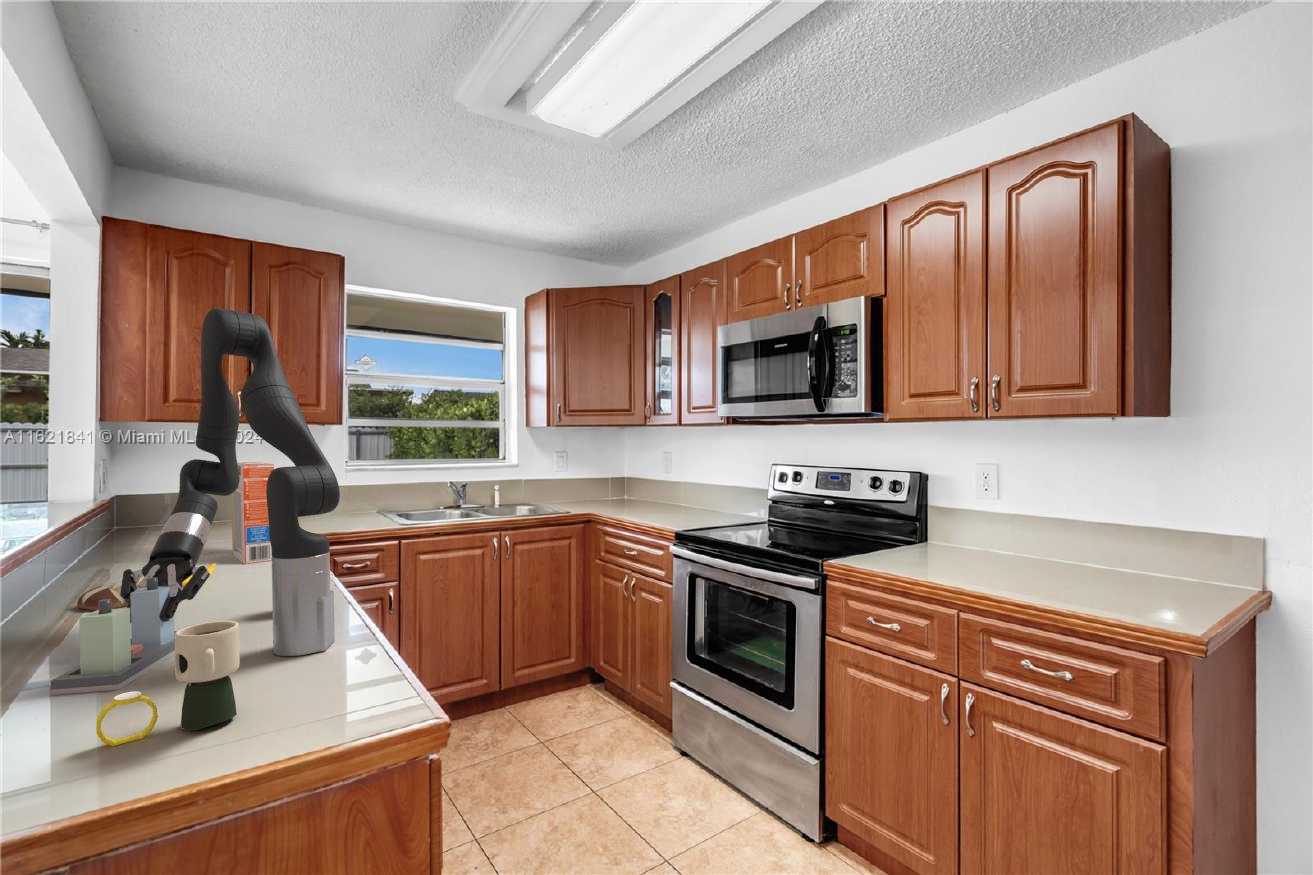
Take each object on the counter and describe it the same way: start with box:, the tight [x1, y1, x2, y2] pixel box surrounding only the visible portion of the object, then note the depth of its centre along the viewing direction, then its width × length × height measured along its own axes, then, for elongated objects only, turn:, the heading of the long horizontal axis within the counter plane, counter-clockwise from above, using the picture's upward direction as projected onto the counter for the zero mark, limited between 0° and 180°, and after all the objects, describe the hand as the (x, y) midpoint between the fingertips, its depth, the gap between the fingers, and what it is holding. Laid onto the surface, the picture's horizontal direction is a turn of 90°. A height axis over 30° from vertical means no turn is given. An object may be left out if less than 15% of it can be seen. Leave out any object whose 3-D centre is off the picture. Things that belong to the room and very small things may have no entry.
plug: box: [130, 577, 175, 646], centre depth 115 cm, size 4×4×12 cm
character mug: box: [174, 620, 241, 731], centre depth 86 cm, size 11×7×13 cm, turn 37°
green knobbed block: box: [78, 599, 132, 675], centre depth 102 cm, size 4×4×12 cm
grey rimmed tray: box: [50, 630, 178, 696], centre depth 108 cm, size 9×23×3 cm, turn 11°
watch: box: [95, 690, 159, 747], centre depth 81 cm, size 6×3×6 cm, turn 133°
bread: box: [76, 581, 138, 612], centre depth 147 cm, size 11×11×5 cm
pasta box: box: [230, 461, 275, 565], centre depth 203 cm, size 23×8×30 cm, turn 41°
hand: (147, 620), depth 113 cm, fingers open, 4 cm apart
